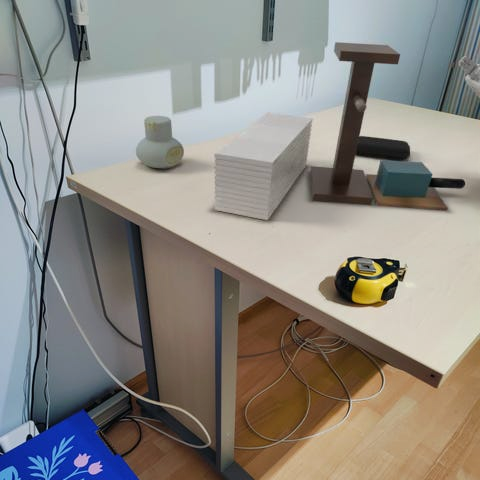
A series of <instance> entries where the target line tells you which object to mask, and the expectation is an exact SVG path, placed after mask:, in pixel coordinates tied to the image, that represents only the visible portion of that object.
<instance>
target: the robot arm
mask: <svg viewBox="0 0 480 480" xmlns="http://www.w3.org/2000/svg"><path fill="white" fill-rule="evenodd" d="M458 66H459V67H460V68H461V69H462V70H463V71H464V72H465V74H466V76H465V77H464V81H465V83H466V84H467V85H468V86H469V88H470V89H471V90H472V91H473V92H474V94H475V95H476V96H477V97H478V98H479V99H480V63H477V64H476V63H475V62H474V60H472V59H471V58H470V57H469V56H466V55H464V56H463V57H461V59H460V60H459V61H458Z"/></svg>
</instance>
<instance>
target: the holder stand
mask: <svg viewBox="0 0 480 480" xmlns="http://www.w3.org/2000/svg"><path fill="white" fill-rule="evenodd" d="M333 48H334V49H333V52H334V54H335V56H336V58H337V60H338V62H348V63H349V62H350V63H351V64H350V70H349V75H348V80H347V87H346V91H345V98H344V103H343V108H342V113H341V114H342V115H341V119H340V126H339V131H338V137H337V141H336V142H337V143H336V148H335V153H334V159H333V164H332V167H329V166H316V165H315V166H313V165H311V166H310V171H309V174H310V175H309V176H310V185H311V186H310V187H311V197H312V201H315V202H317V201H318V202H326V203H327V202H328V203H342V204H356V205H367V206H368V205H369V206H371V205H373V201H374V197H373V194H372V191H371V188H370V186H369V183H368V180H367V178H366V174H365V172H364V170H363V169H355V168H354V164H355V158H356V155H357V154H356V150H357V145H358V140H359V136H361V130H362V125H363V120H364V115H365V112H366V110H367V102H368V96H369V92H370V87H371V82H372V78H373V77H372V76H373V73H374V68H375V64H382V65H383V64H384V65H399V62H400V57H401V54H400V53H399V52H398V51H397V50H395V49H393V48H392V47H391V46H390V45H388V44H373V43H358V42H357V43H355V42H340V41H339V42H338V41H337V42H334V47H333Z"/></svg>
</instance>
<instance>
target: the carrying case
mask: <svg viewBox="0 0 480 480" xmlns="http://www.w3.org/2000/svg"><path fill="white" fill-rule="evenodd" d="M356 155H357V156H361V157H362V156H363V157H369V158H378V159H383V160H384V159H385V160H391V161H406V160H407V159H408V158H410V157H411V145H409V143H408V141H405V140H399V139H391V138H383V137H377V136H376V137H374V136H365V135H359V140H358V145H357V150H356Z"/></svg>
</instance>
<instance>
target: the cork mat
mask: <svg viewBox="0 0 480 480" xmlns="http://www.w3.org/2000/svg"><path fill="white" fill-rule="evenodd" d="M376 176H377V174H371V173H370V174H369V173H366V174H365V177H366V180H367V182H368V185H369V188H370V190H371V193H372V196H373V200H374V201H375V205H376V206H382V207H395V208H407V209H420V210H432V211H434V210H435V211H445V212H446V211H448V206H447V205H446V204H445V202H444V200H443V199H442V197H441V196H440V194H439V193H438V191H437V190H436V188H433V187H428V190H427V193H426V196H425V198H423V197H402V196H382V194H381V192H380V191H379V189H378V187H377V186H376V184H375V181H376Z"/></svg>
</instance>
